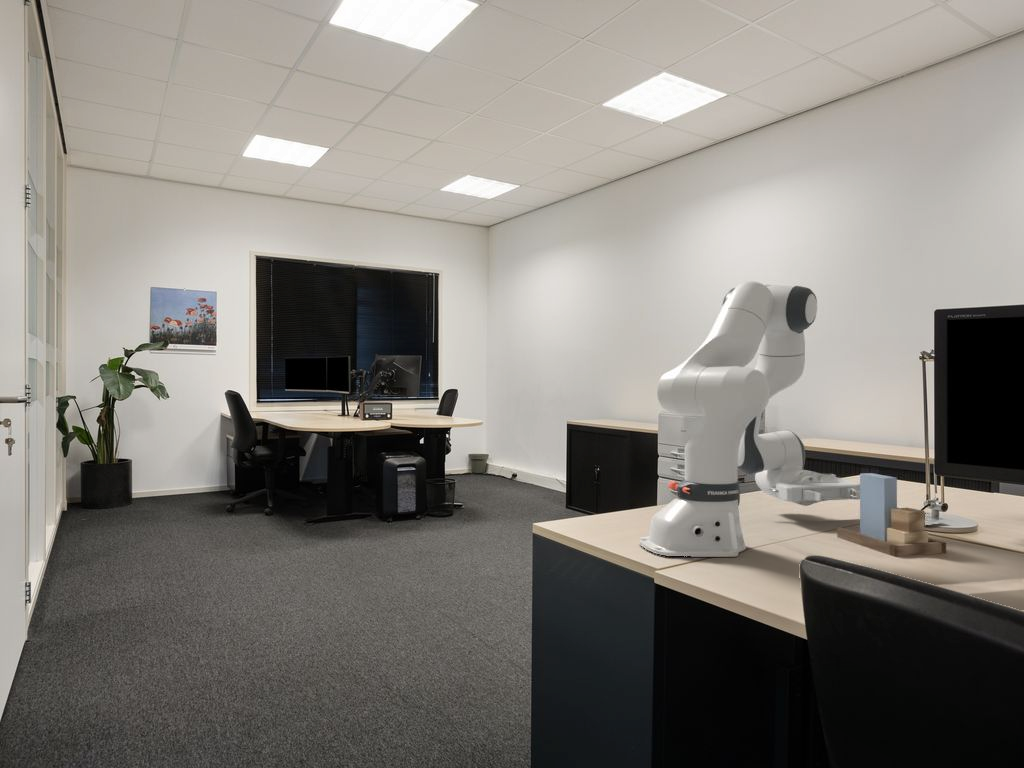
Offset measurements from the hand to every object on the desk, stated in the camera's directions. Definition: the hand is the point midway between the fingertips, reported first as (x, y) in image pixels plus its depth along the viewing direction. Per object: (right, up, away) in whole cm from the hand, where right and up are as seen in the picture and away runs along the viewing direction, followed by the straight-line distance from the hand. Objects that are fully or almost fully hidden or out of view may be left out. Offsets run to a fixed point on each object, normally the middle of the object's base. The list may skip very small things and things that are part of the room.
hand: (840, 496), depth 148 cm
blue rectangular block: (+2, -7, -11) cm, 14 cm away
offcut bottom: (+4, -7, -18) cm, 20 cm away
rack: (+3, -9, -14) cm, 17 cm away
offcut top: (+4, -3, -18) cm, 19 cm away
